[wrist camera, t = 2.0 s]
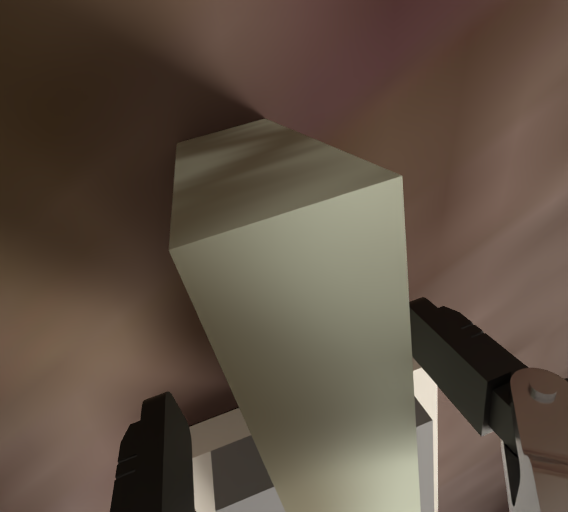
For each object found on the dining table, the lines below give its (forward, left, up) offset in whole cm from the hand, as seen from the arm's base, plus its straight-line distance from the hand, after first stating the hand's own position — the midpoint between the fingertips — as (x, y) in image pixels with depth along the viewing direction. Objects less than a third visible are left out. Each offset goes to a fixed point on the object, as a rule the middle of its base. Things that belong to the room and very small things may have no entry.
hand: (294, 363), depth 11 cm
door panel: (0, 0, -6) cm, 6 cm away
